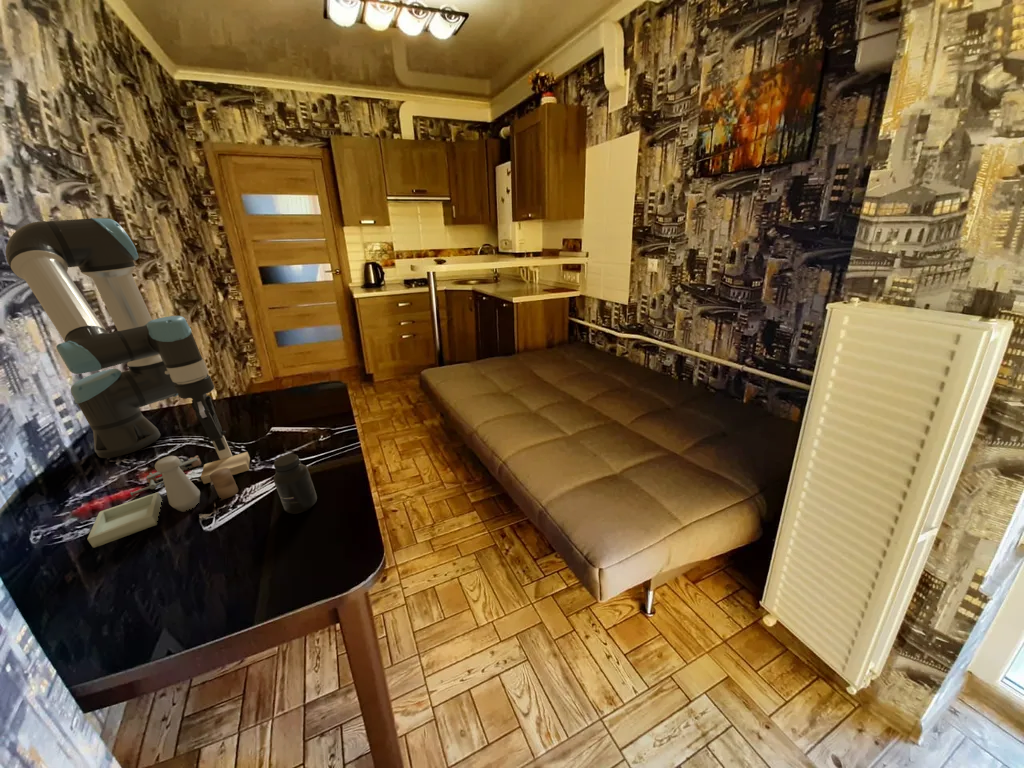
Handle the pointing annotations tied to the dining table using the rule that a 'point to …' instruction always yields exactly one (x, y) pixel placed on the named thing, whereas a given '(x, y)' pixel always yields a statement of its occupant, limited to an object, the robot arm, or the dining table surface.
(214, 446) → the robot arm
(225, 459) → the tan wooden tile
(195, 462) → the clamp
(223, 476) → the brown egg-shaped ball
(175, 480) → the salt shaker
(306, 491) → the supplement bottle
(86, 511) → the dining table surface
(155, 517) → the tray
